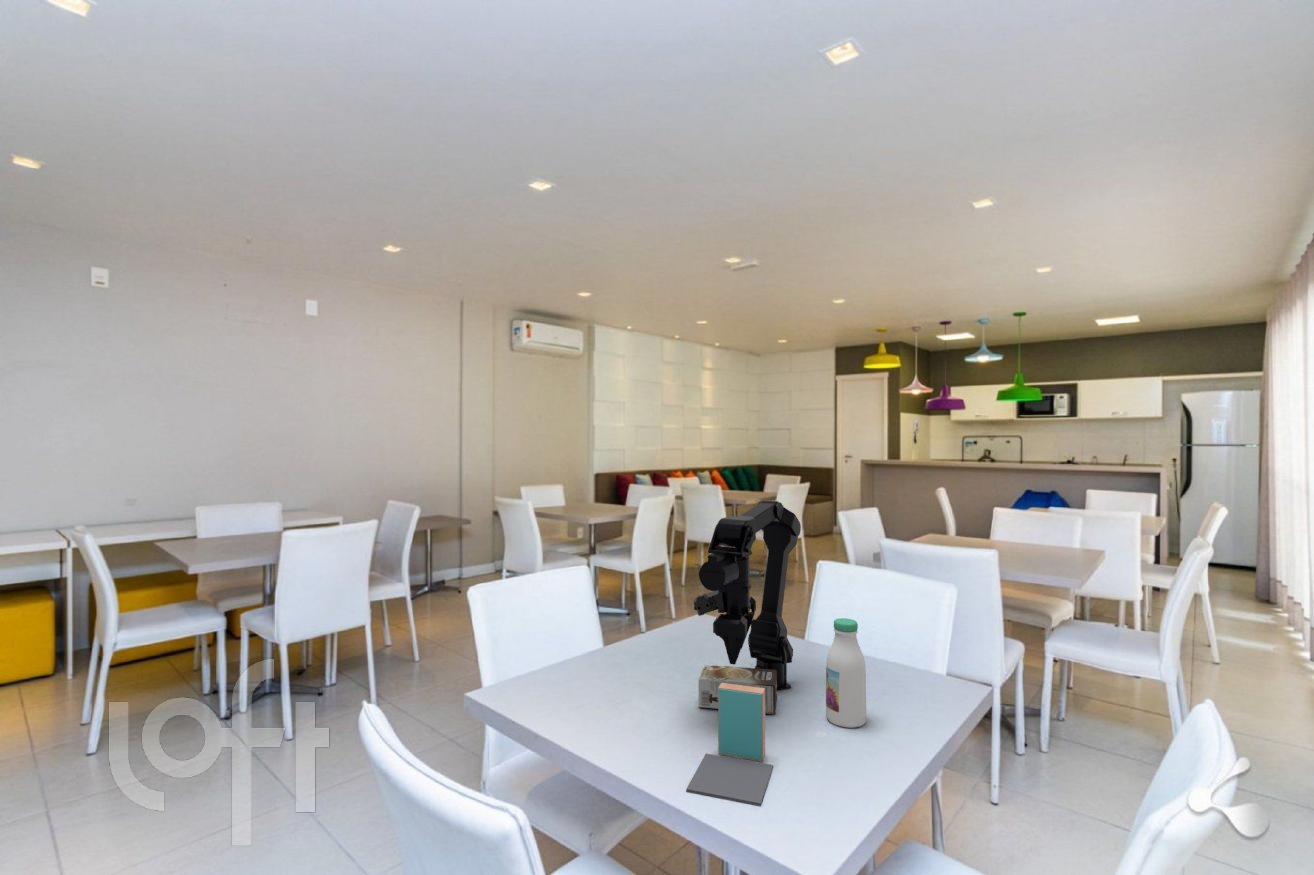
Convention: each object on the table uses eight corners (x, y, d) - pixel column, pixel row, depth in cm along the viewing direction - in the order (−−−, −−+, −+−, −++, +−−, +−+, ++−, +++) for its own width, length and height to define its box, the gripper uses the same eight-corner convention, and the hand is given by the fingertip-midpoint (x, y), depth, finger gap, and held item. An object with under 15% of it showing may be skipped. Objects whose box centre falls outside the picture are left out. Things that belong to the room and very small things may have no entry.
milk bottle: (866, 714, 128) (865, 617, 128) (866, 731, 120) (865, 628, 120) (827, 709, 130) (827, 613, 130) (824, 725, 123) (824, 624, 123)
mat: (705, 755, 111) (705, 753, 111) (773, 767, 107) (773, 764, 107) (686, 791, 100) (686, 788, 100) (760, 805, 96) (760, 803, 96)
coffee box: (704, 662, 140) (777, 668, 136) (704, 691, 140) (777, 697, 136) (698, 678, 131) (775, 684, 127) (698, 708, 131) (776, 715, 127)
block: (721, 747, 114) (721, 682, 114) (765, 755, 111) (764, 688, 111) (718, 754, 112) (717, 687, 112) (762, 762, 109) (762, 693, 109)
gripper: (705, 568, 138) (706, 638, 139) (686, 589, 121) (687, 669, 121) (755, 570, 135) (756, 642, 136) (744, 592, 118) (745, 674, 118)
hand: (736, 655), depth 127 cm, fingers open, 9 cm apart
